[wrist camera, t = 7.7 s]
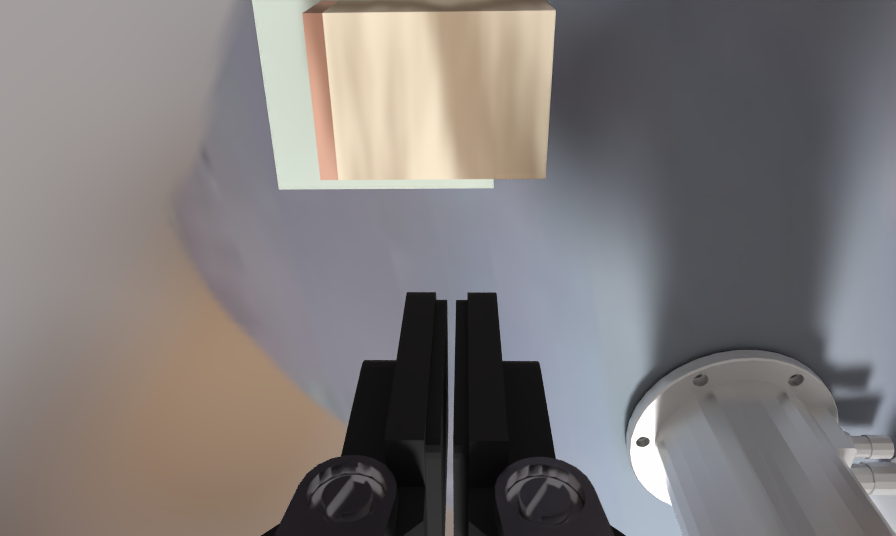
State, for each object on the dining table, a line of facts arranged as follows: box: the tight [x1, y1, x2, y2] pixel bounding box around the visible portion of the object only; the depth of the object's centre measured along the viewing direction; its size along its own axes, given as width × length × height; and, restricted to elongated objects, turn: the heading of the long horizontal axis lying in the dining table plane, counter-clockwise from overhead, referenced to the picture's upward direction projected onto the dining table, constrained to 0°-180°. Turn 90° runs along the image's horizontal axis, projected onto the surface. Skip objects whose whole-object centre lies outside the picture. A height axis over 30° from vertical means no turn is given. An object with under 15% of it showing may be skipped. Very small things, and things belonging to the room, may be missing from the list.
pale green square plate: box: [252, 0, 494, 189], centre depth 32 cm, size 11×11×1 cm
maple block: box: [302, 0, 556, 180], centre depth 30 cm, size 4×7×10 cm
